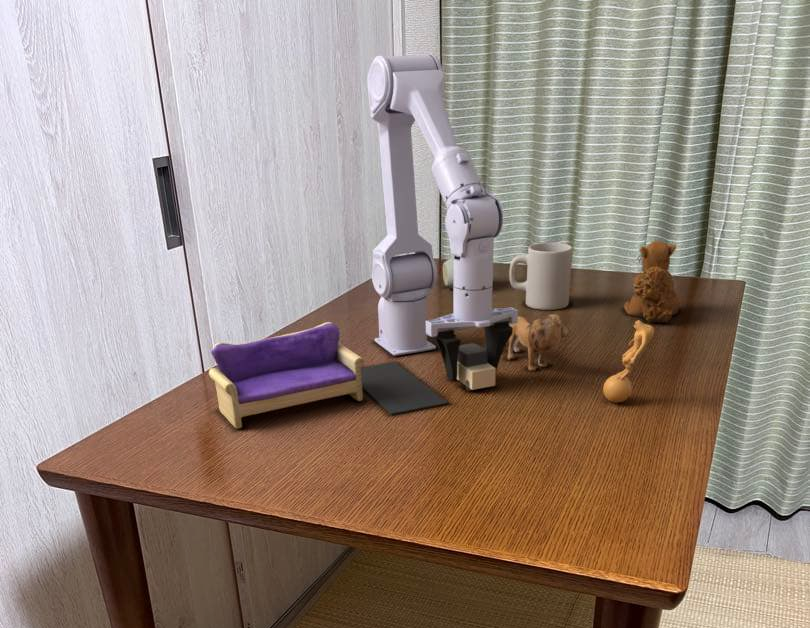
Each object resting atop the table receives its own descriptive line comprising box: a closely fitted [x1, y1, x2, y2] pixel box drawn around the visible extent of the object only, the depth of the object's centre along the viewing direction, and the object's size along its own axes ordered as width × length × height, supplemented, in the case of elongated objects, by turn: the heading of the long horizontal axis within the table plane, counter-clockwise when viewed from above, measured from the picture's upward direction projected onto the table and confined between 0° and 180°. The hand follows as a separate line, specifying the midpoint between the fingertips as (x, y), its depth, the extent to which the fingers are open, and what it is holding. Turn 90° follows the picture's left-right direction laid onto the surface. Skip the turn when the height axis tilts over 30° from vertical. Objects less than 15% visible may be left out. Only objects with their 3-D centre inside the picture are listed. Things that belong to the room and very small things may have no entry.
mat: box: [361, 361, 449, 416], centre depth 125 cm, size 20×9×1 cm, turn 23°
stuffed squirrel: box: [623, 240, 681, 323], centre depth 149 cm, size 10×14×13 cm
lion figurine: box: [504, 313, 569, 372], centre depth 131 cm, size 15×5×9 cm, turn 33°
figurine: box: [602, 319, 655, 404], centre depth 115 cm, size 8×6×12 cm
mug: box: [508, 242, 573, 311], centre depth 160 cm, size 12×8×11 cm
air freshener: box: [442, 252, 454, 290], centre depth 172 cm, size 11×8×10 cm
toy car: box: [456, 342, 497, 392], centre depth 125 cm, size 8×4×5 cm, turn 23°
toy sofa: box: [208, 321, 365, 430], centre depth 117 cm, size 21×9×10 cm, turn 118°
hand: (471, 374), depth 125 cm, fingers open, 6 cm apart
